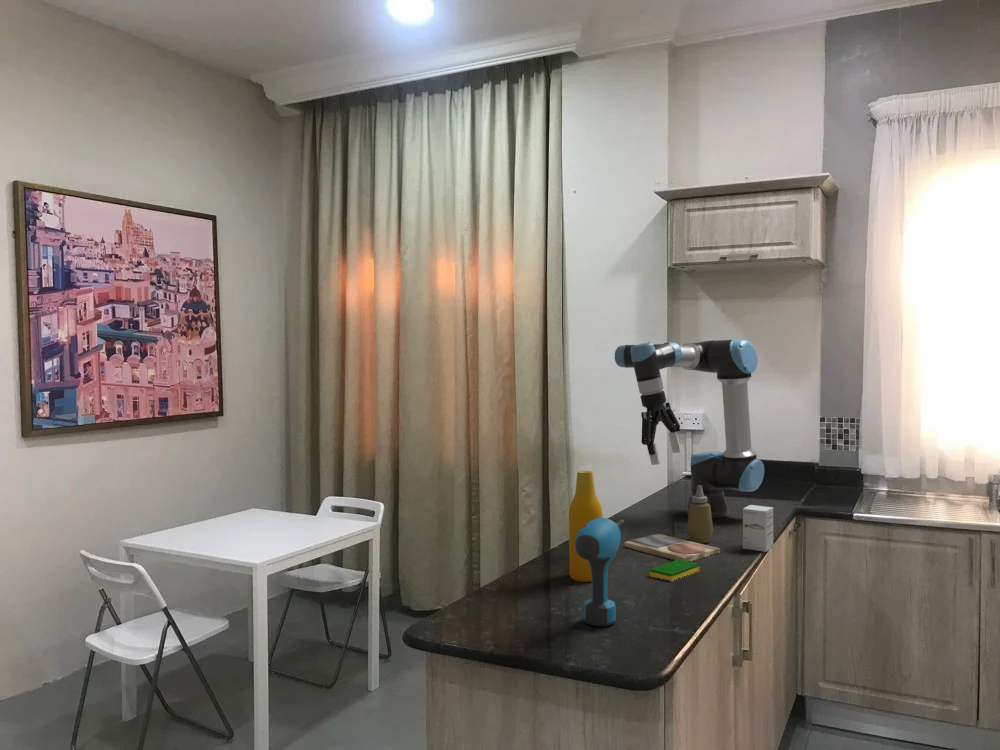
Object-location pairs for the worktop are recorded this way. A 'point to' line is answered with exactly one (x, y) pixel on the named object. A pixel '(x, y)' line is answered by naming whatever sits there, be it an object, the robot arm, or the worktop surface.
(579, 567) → the beer bottle
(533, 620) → the worktop surface
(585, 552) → the power drill
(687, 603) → the worktop surface
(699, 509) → the squeeze bottle
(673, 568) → the dish sponge
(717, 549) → the board
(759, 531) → the supplement box
